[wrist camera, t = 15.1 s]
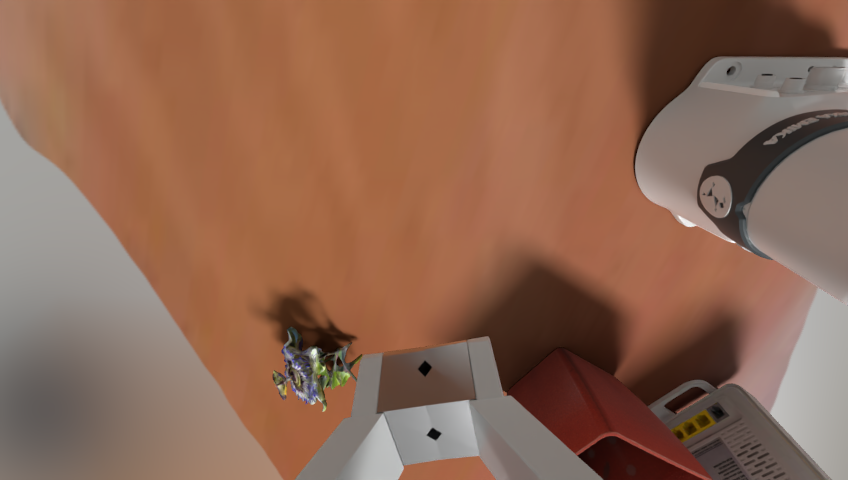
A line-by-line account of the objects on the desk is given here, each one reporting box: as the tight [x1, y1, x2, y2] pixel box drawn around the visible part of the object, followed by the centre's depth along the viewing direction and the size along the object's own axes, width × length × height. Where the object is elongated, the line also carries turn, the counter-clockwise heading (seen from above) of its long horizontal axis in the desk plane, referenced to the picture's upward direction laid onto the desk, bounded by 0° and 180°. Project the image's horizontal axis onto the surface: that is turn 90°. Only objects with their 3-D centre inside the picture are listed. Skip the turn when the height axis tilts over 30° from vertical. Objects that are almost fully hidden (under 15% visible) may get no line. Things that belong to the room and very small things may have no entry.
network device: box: [647, 380, 831, 480], centre depth 55 cm, size 26×9×20 cm, turn 143°
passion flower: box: [273, 327, 362, 411], centre depth 51 cm, size 11×11×12 cm
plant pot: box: [507, 348, 713, 480], centre depth 52 cm, size 19×19×17 cm
